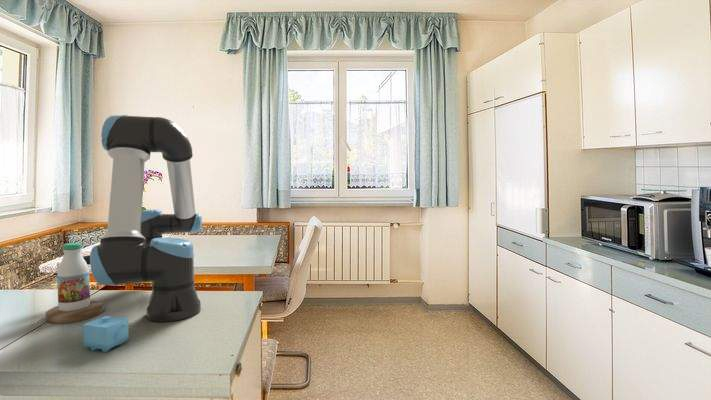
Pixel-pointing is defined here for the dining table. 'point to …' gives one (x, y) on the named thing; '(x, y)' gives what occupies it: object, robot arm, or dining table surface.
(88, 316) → the brown round coaster
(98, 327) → the light blue box
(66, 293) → the milk bottle
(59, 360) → the dining table surface
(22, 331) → the dining table surface
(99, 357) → the dining table surface
